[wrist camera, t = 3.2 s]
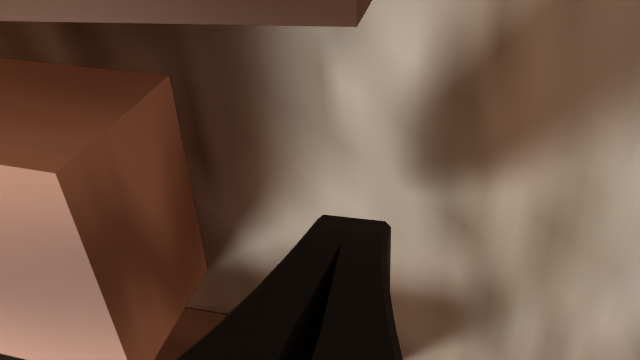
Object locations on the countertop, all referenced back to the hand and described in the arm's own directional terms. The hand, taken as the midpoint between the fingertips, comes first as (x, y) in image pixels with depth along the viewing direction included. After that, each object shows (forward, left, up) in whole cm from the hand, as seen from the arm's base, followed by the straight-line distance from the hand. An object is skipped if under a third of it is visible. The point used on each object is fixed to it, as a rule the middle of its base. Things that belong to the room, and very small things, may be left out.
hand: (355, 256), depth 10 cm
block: (0, +8, -2) cm, 8 cm away
